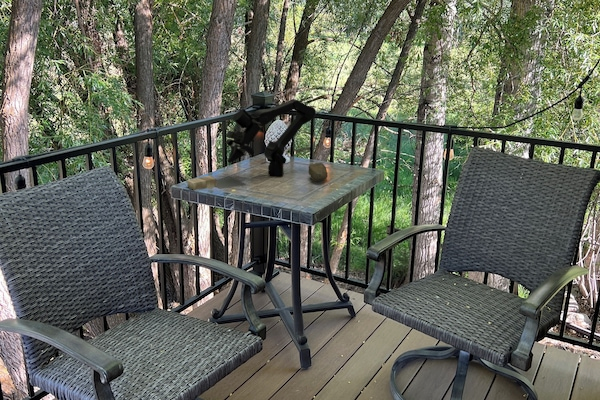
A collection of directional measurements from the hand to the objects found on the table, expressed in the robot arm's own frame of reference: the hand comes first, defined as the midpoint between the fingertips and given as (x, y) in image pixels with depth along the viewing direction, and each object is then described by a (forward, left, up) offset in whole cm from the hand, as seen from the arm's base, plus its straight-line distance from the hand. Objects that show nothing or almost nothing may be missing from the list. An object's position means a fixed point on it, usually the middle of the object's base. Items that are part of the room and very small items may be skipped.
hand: (228, 162), depth 258 cm
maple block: (+6, +5, -7) cm, 11 cm away
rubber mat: (+1, +1, -10) cm, 10 cm away
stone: (-39, -10, -10) cm, 42 cm away
